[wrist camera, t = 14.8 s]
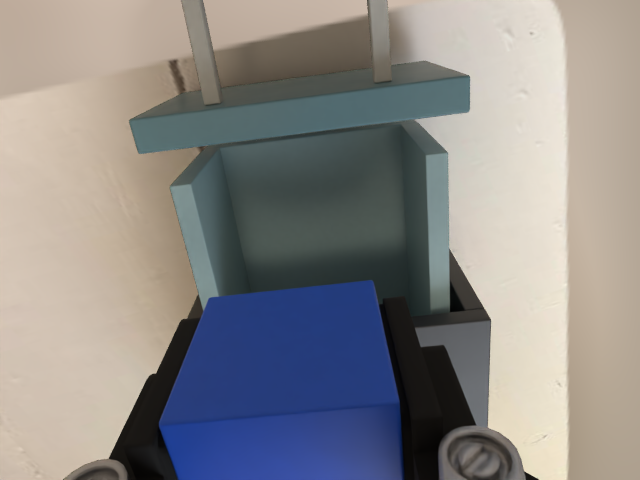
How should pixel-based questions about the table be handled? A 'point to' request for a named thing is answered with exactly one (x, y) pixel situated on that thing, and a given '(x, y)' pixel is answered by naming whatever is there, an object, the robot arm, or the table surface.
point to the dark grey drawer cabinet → (453, 339)
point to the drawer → (313, 174)
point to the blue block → (287, 390)
